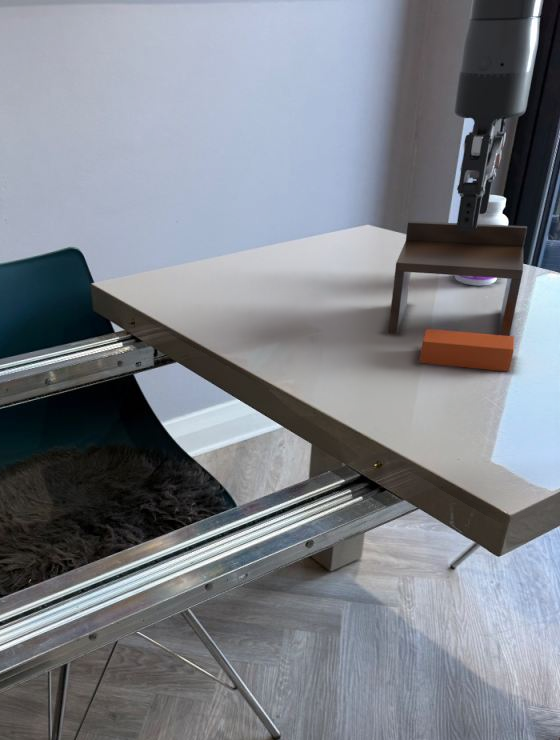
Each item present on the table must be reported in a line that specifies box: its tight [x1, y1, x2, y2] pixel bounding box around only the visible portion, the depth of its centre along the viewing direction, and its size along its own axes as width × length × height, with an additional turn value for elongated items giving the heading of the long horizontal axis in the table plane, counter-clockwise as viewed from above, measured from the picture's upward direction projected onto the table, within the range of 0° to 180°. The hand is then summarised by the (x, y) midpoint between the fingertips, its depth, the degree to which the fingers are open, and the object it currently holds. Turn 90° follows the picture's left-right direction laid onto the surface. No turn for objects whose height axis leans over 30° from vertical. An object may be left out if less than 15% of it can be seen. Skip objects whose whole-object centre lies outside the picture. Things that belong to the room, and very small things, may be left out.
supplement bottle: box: [454, 194, 509, 287], centre depth 125 cm, size 7×7×13 cm
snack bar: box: [419, 328, 515, 372], centre depth 102 cm, size 11×4×3 cm, turn 70°
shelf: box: [387, 220, 528, 336], centre depth 110 cm, size 16×12×12 cm
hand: (471, 221), depth 94 cm, fingers open, 8 cm apart
